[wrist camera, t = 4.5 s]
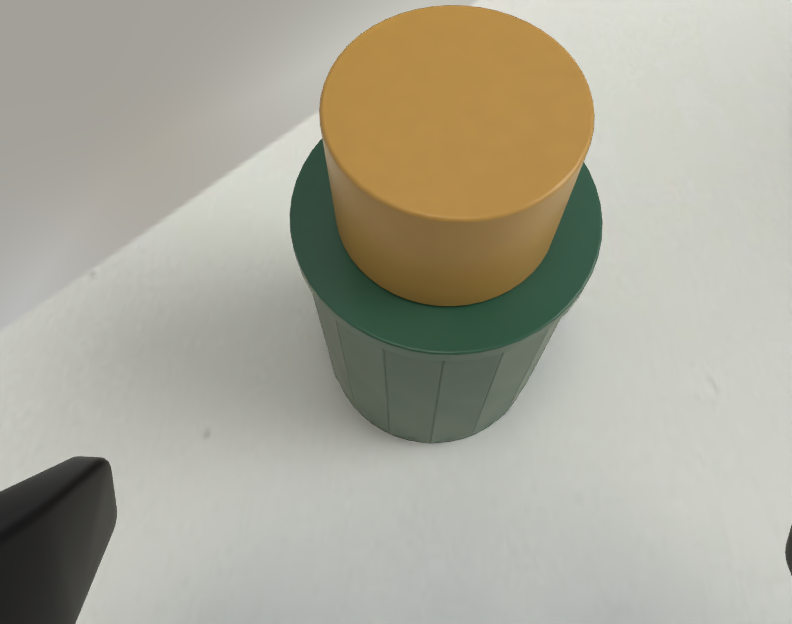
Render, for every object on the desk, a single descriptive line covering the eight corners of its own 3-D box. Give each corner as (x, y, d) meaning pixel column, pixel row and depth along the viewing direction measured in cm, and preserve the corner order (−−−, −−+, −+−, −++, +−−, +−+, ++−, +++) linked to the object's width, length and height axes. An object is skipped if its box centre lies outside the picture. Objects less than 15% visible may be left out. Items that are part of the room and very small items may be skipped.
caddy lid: (605, 142, 18) (668, -5, 14) (571, 402, 15) (639, 317, 11) (339, 95, 19) (320, -58, 15) (258, 334, 16) (204, 230, 12)
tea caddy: (542, 279, 25) (603, 132, 18) (512, 463, 22) (570, 383, 15) (359, 244, 26) (342, 86, 18) (309, 417, 23) (263, 318, 15)
